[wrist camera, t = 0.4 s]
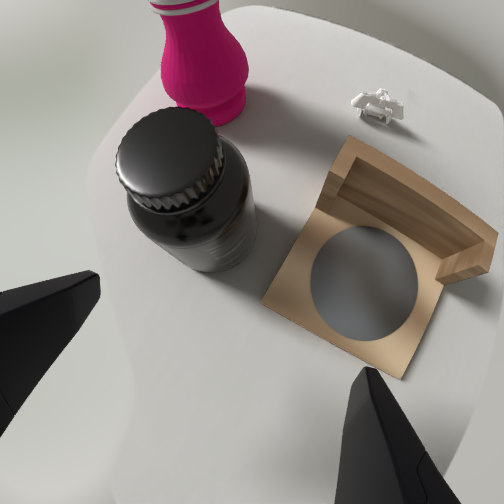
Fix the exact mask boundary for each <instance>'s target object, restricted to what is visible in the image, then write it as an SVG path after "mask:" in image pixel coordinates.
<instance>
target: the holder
mask: <svg viewBox="0 0 504 504" xmlns="http://www.w3.org/2000/svg"><path fill="white" fill-rule="evenodd" d="M497 237H498V232H497V231H495V230H494V229H493V228H492V227H490V226H489V225H488V224H487V223H485V222H484V221H483V220H482V219H480V218H479V217H478V216H476V215H475V214H474V213H472V212H471V211H470V210H468V209H467V208H466V207H464V206H463V205H462V204H460V203H459V202H458V201H456V200H455V199H453V198H452V197H451V196H449V195H448V194H446V193H445V192H443V191H442V190H440V189H439V188H437V187H436V186H434V185H433V184H432V183H430V182H428V181H427V180H425V179H424V178H422V177H421V176H419V175H418V174H416V173H415V172H413V171H411V170H410V169H408V168H407V167H405V166H403V165H402V164H400V163H398V162H397V161H395V160H393V159H392V158H390V157H388V156H387V155H385V154H383V153H381V152H380V151H378V150H376V149H374V148H373V147H371V146H369V145H367V144H365V143H363V142H362V141H360V140H358V139H356V138H354V137H352V136H350V135H349V136H348V138H347V140H346V141H345V143H344V145H343V147H342V149H341V150H340V152H339V154H338V156H337V158H336V159H335V161H334V163H333V165H332V167H331V168H330V170H329V173H328V175H327V178H326V180H325V183H324V186H323V188H322V191H321V193H320V196H319V199H318V201H317V204H316V206H315V208H314V210H313V212H312V214H311V215H310V217H309V219H308V221H307V223H306V224H305V226H304V228H303V230H302V231H301V233H300V235H299V237H298V238H297V240H296V242H295V244H294V245H293V247H292V249H291V250H290V252H289V254H288V256H287V257H286V259H285V261H284V263H283V264H282V266H281V268H280V269H279V271H278V273H277V274H276V276H275V278H274V280H273V281H272V283H271V285H270V286H269V288H268V290H267V291H266V293H265V295H264V296H263V298H262V300H261V302H260V303H261V304H263V305H265V306H267V307H268V308H270V309H272V310H274V311H275V312H277V313H279V314H280V315H282V316H284V317H286V318H287V319H289V320H291V321H293V322H294V323H296V324H298V325H300V326H301V327H303V328H305V329H307V330H308V331H310V332H312V333H314V334H316V335H317V336H319V337H321V338H323V339H325V340H326V341H328V342H330V343H332V344H334V345H335V346H337V347H339V348H341V349H343V350H345V351H346V352H348V353H350V354H352V355H354V356H356V357H357V358H359V359H361V360H363V361H365V362H367V363H369V364H370V365H372V366H374V367H376V368H378V369H380V370H382V371H384V372H385V373H387V374H389V375H391V376H393V377H395V378H398V379H401V377H402V375H403V373H404V372H405V370H406V368H407V366H408V364H409V362H410V360H411V358H412V356H413V354H414V352H415V350H416V348H417V346H418V344H419V342H420V340H421V338H422V335H423V333H424V331H425V329H426V327H427V324H428V322H429V320H430V318H431V315H432V313H433V311H434V308H435V306H436V303H437V301H438V298H439V296H440V293H441V291H442V288H443V286H444V285H447V284H450V283H454V282H458V281H461V280H465V279H468V278H472V277H475V276H478V275H482V274H485V273H488V272H489V269H490V265H491V261H492V258H493V254H494V250H495V246H496V241H497Z"/></svg>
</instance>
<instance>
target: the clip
mask: <svg viewBox="0 0 504 504" xmlns="http://www.w3.org/2000/svg"><path fill="white" fill-rule="evenodd" d="M351 104H352V106H353V107H357V108H358V109H357V112H358V113H359V117H360V116H361V114H362V109H364V112H363V114H364V115H366V114H368V115H372V116H376V117H379V118H380V119H382V118H383V116H384V115H387V116H386V124H388V123H389V121H391V119H392V117H393V118H397V119H400V120H402V119H403V118H404V112H403V103H401V102H398V101H396V100H395V99H391V98H390V97H389V96H388V92H387V90H385V89H382V88H381V89H379V90H378V91H377V93H367V92H362V93H361V94H359V95H358V96H357V97H355V98H354V99H353V100H352V101H351ZM385 107H387V108H390V109H392V114H391V110H388V111H387V110H385Z"/></svg>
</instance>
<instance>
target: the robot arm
mask: <svg viewBox="0 0 504 504" xmlns="http://www.w3.org/2000/svg"><path fill="white" fill-rule="evenodd" d="M100 292H101V291H100V277H99V275H98V274H97V273H95V272H93V271H90V270H87V271H83V272H79V273H74V274H70V275H66V276H62V277H58V278H54V279H50V280H46V281H42V282H38V283H34V284H30V285H26V286H22V287H18V288H14V289H10V290H7V291H3V292H0V437H1V436H2V434H3V433H4V431H5V430H6V428H7V427H8V425H9V424H10V422H11V421H12V419H13V418H14V415H16V413H17V412H18V410H19V409H20V407H21V406H22V405H23V403H24V402H25V400H26V399H27V397H28V396H29V395H30V393H31V392H32V391H33V389H34V388H35V387H36V385H37V384H38V382H39V381H40V380H41V378H42V377H43V376H44V374H45V373H46V372H47V370H48V369H49V368H50V366H51V365H52V364H53V362H54V361H55V360H56V359H57V357H58V356H59V354H61V352H62V351H63V350H64V348H65V347H66V346H67V345H68V343H69V342H70V341H71V340H72V338H73V337H74V336H75V334H76V333H77V332H78V331H79V329H80V328H81V326H82V325H83V323H84V321H85V320H86V319H87V317H88V315H89V314H90V312H91V311H92V309H93V308H94V306H95V305H96V303H97V302H98V300H99V298H100V294H101V293H100ZM334 504H461V503H460V501H459V500H458V498H457V497H456V496H455V494H454V493H453V491H452V490H451V489H450V487H449V486H448V484H447V483H446V481H445V480H444V478H443V477H442V475H441V474H440V472H439V471H438V469H437V468H436V466H435V464H434V463H433V461H432V459H431V458H430V456H429V454H428V453H427V451H425V448H424V446H423V444H422V442H421V441H420V439H419V437H418V436H417V434H416V432H415V431H414V429H413V427H412V425H411V424H410V422H409V420H408V419H407V417H406V415H405V414H404V412H403V411H402V409H401V407H400V406H399V404H398V402H397V401H396V399H395V397H394V396H393V394H392V393H391V391H390V389H389V388H388V386H387V385H386V383H385V381H384V380H383V378H382V377H381V375H380V373H379V372H378V370H377V369H375V368H371V367H364V368H363V369H362V370H361V372H360V373H359V375H358V376H357V378H356V379H355V381H354V382H353V384H352V386H351V390H350V396H349V401H348V407H347V412H346V417H345V422H344V427H343V435H342V445H341V455H340V465H339V473H338V481H337V489H336V496H335V503H334Z"/></svg>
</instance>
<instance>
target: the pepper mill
mask: <svg viewBox="0 0 504 504" xmlns="http://www.w3.org/2000/svg"><path fill="white" fill-rule="evenodd" d="M148 1H149V2H150V3H149V7H150V9H151V11H153V12H154V13H156V14H159V15H160V16H161V18H162V20H163V22H164V26H165V30H166V43H165V48H164V52H163V57H162V62H161V79H162V82H163V86H164V89H165V91H166V93H167V94H168V95H169V96H170V98H172V99H173V100H174V101H176V103H177V106H180V107H183V108H184V107H189V108H190V109H195V110H197V111H198V112H199V113H203V114H205V116H206V117H207V118H209V119H210V120H211V121H212V124H213V125H214V126H215V127H216V126H221V125H223V124H226V123H228V122H230V121H232V120H233V119H234V118H235V117H237V116H238V115H239V114H240V113H241V111H242V109H243V108H244V105H245V101H246V96H245V87H244V84H245V82H246V80H247V78H248V73H249V67H248V62H247V58H246V55H245V52H244V51H243V49H242V47H241V45H240V43H239V42H238V41H237V40H236V39H235V37H234V36H233V35H232V34H231V33H230V32H229V31H228V29H227V28H226V27H225V25H224V23H223V21H222V19H221V14H220V10H219V0H148Z"/></svg>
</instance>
